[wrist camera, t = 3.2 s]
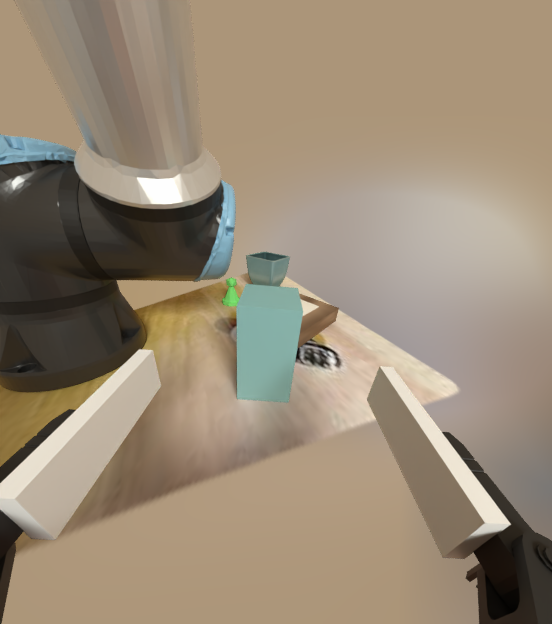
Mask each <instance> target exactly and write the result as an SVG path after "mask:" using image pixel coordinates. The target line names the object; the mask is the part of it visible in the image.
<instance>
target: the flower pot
mask: <svg viewBox="0 0 552 624" xmlns="http://www.w3.org/2000/svg"><path fill="white" fill-rule="evenodd" d="M246 259H247V268H248V274H249V277H250V279H251V281H252V283H253V285H265V286H277V287H279V286H280V284H281V283H282V281H283V280H284V278H285V275H286V272H287V268H288V264H289V259H290V257H289V256H285V255H279V254H273V253H269V252H260V253H255V254H250V255H246Z"/></svg>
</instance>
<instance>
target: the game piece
mask: <svg viewBox="0 0 552 624" xmlns="http://www.w3.org/2000/svg"><path fill="white" fill-rule="evenodd" d="M226 283H227V285H228V286H229V288H228V290H227V293H226V296H225V298H223V299H222V302H223V305H226V306H237V304H238V302H239V299H240V298H239V297H238V296H237V294H236V291H235V289H234V286H235V285H236V279H234V278H229V279H227V280H226Z"/></svg>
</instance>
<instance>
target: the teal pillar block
mask: <svg viewBox="0 0 552 624" xmlns="http://www.w3.org/2000/svg"><path fill="white" fill-rule="evenodd" d="M302 316H303V308H302V304H301V300H300V296H299V292H298V288H289V287H277V286H265V285H253V284H246V286H245V288H244V290H243V293H242V295H241V297H240V299H239V302H238V304H237V399H244V400H259V401H274V402H289V396H290V390H291V384H292V378H293V372H294V365H295V359H296V353H297V347H298V341H299V335H300V328H301V322H302Z"/></svg>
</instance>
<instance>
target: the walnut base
mask: <svg viewBox="0 0 552 624" xmlns="http://www.w3.org/2000/svg"><path fill="white" fill-rule="evenodd" d="M299 296H300V300H301V304H302V308H303V316H302V322H301V328H300V335H299V341H298V347H297V348H299V347H301V346H302V345H303V344H305V343H306V342H307V341H309V340H310V339H311V338H313V337H314V336H315V335H317V334H318V333H320V332H321V331H322V330H324V329H325V328H326V327H328V326H329V325H330V324H332V323H333V322H335V321H336V317H337V313H338V309H339V308H337V307H334V306H332V305H329V304H326V303H323V302H321V301H318V300H315V299H313V298H310V297H307V296H304V295H302V294H299Z"/></svg>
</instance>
